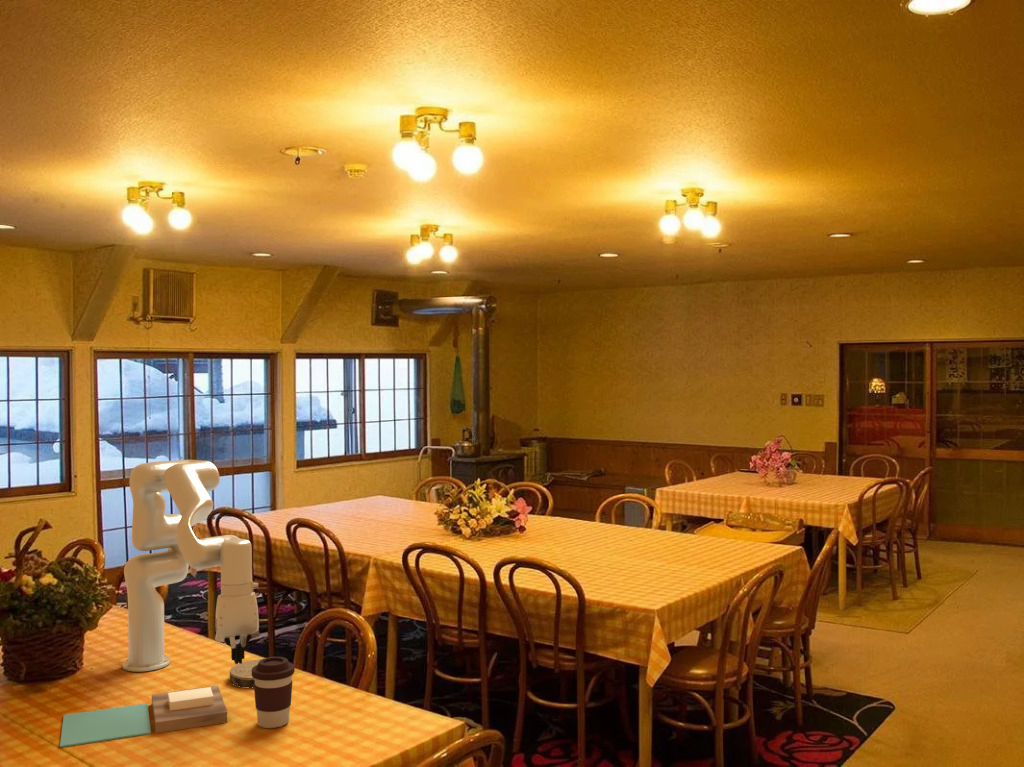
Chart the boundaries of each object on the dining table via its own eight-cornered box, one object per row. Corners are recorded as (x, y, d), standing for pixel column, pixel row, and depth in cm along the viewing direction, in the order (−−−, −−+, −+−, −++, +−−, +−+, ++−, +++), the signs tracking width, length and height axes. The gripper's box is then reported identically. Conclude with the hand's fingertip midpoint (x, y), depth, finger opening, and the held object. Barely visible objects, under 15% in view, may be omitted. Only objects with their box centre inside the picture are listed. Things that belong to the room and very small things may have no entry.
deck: (151, 704, 230) (151, 694, 230) (218, 694, 237) (218, 685, 237) (155, 733, 212) (155, 722, 212) (227, 722, 218) (227, 711, 218)
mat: (63, 716, 222) (63, 714, 222) (147, 704, 230) (147, 703, 230) (59, 747, 204) (59, 745, 204) (151, 733, 211) (151, 732, 211)
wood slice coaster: (239, 693, 239) (239, 681, 239) (222, 675, 252) (222, 665, 252) (298, 682, 247) (298, 671, 247) (279, 665, 261) (279, 655, 261)
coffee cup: (249, 719, 220) (249, 657, 220) (290, 712, 224) (290, 652, 224) (254, 734, 211) (254, 669, 211) (298, 727, 215) (297, 664, 215)
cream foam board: (168, 700, 226) (168, 692, 226) (210, 694, 230) (210, 687, 230) (169, 710, 219) (169, 702, 219) (213, 704, 223) (213, 696, 223)
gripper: (264, 583, 235) (266, 654, 235) (203, 589, 229) (205, 662, 229) (269, 589, 228) (270, 662, 228) (207, 595, 222) (208, 671, 222)
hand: (238, 662), depth 228 cm, fingers closed
